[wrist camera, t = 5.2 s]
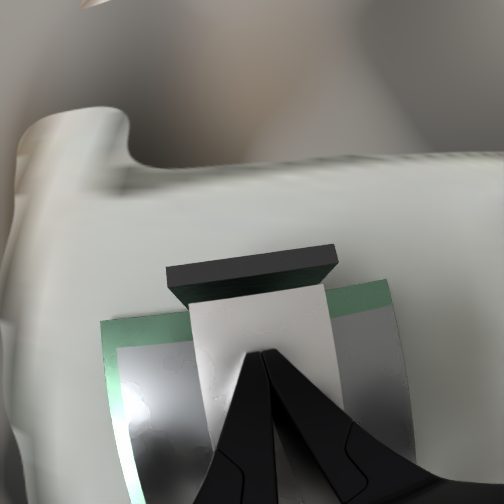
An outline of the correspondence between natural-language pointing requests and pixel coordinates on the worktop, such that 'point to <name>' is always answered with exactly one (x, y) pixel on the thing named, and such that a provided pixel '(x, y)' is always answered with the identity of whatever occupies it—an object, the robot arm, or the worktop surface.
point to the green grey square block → (187, 377)
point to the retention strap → (257, 339)
